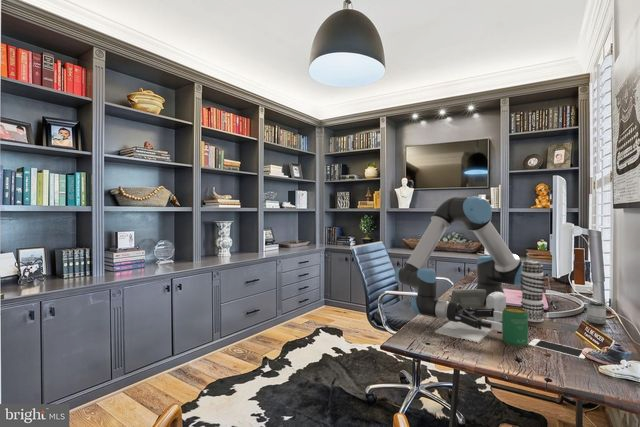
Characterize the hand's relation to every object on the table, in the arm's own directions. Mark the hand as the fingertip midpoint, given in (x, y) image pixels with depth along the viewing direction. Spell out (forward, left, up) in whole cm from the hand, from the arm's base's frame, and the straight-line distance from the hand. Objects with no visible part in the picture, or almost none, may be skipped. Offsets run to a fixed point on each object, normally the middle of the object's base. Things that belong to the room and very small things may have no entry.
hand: (507, 322), depth 125 cm
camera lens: (-48, +22, -7) cm, 53 cm away
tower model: (-35, +1, -7) cm, 35 cm away
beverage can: (-1, +2, -7) cm, 8 cm away
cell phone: (-5, +14, -8) cm, 17 cm away
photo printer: (-22, -10, -7) cm, 25 cm away
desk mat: (-3, -16, -7) cm, 17 cm away
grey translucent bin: (-28, -24, -7) cm, 37 cm away
